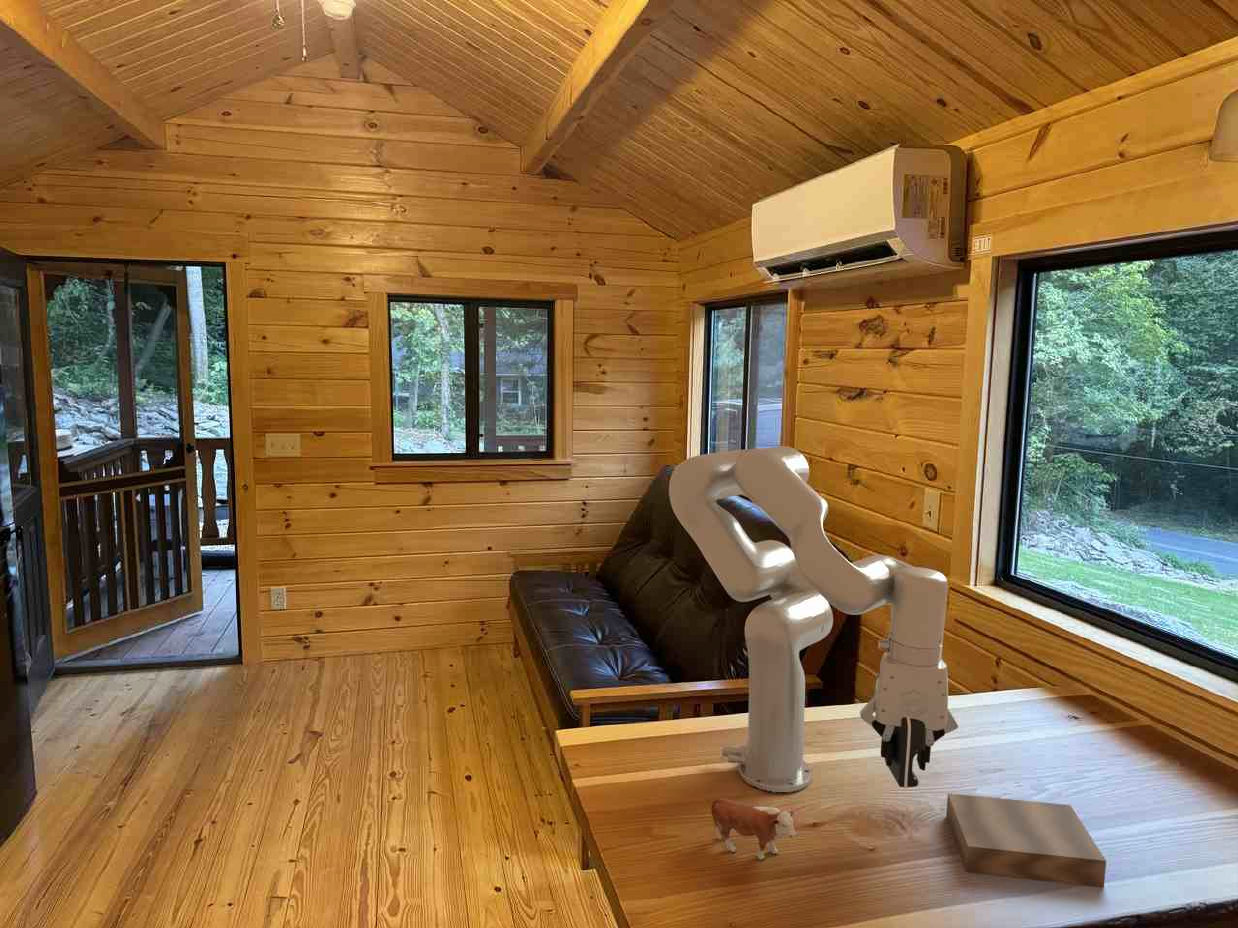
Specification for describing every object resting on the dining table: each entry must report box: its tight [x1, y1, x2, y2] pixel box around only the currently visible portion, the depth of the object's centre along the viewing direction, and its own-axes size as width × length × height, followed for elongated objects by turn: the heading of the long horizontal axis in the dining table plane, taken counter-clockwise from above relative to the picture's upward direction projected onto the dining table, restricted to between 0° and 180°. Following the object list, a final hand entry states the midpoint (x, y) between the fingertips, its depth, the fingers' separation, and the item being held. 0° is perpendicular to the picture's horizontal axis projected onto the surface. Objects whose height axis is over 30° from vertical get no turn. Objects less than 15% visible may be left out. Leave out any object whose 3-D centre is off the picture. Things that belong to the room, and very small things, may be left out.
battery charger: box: [887, 717, 926, 789], centre depth 123 cm, size 7×4×11 cm, turn 179°
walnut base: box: [945, 793, 1107, 888], centre depth 121 cm, size 18×14×4 cm
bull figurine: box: [710, 797, 797, 860], centre depth 120 cm, size 4×13×8 cm, turn 58°
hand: (904, 762), depth 124 cm, fingers closed on battery charger, 4 cm apart
